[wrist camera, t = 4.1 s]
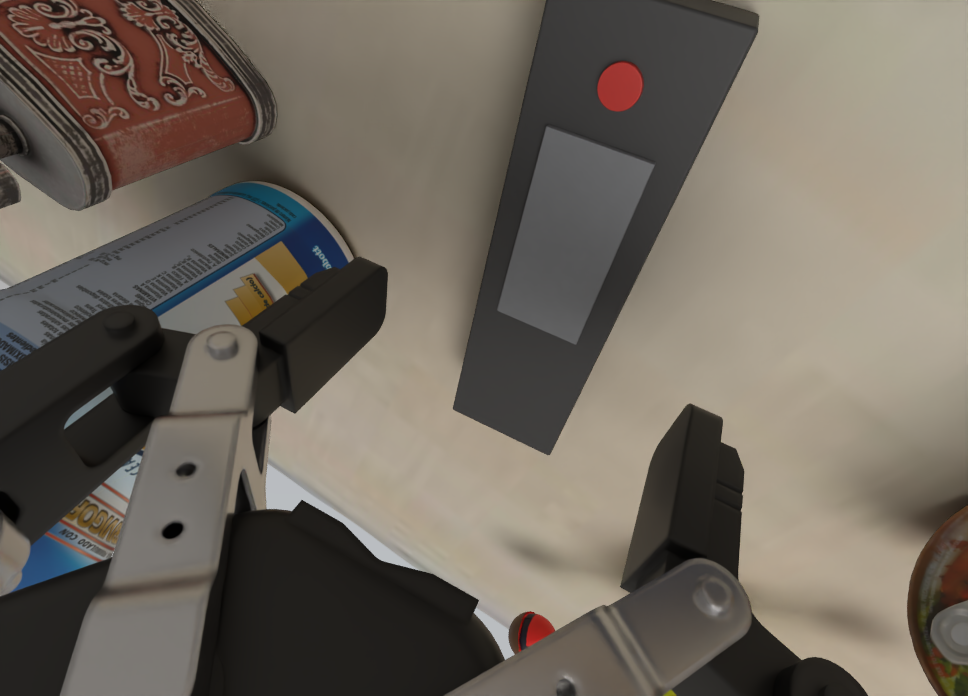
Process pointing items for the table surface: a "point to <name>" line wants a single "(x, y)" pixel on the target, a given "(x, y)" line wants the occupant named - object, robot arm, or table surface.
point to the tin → (942, 607)
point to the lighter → (118, 94)
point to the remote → (590, 194)
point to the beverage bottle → (164, 314)
